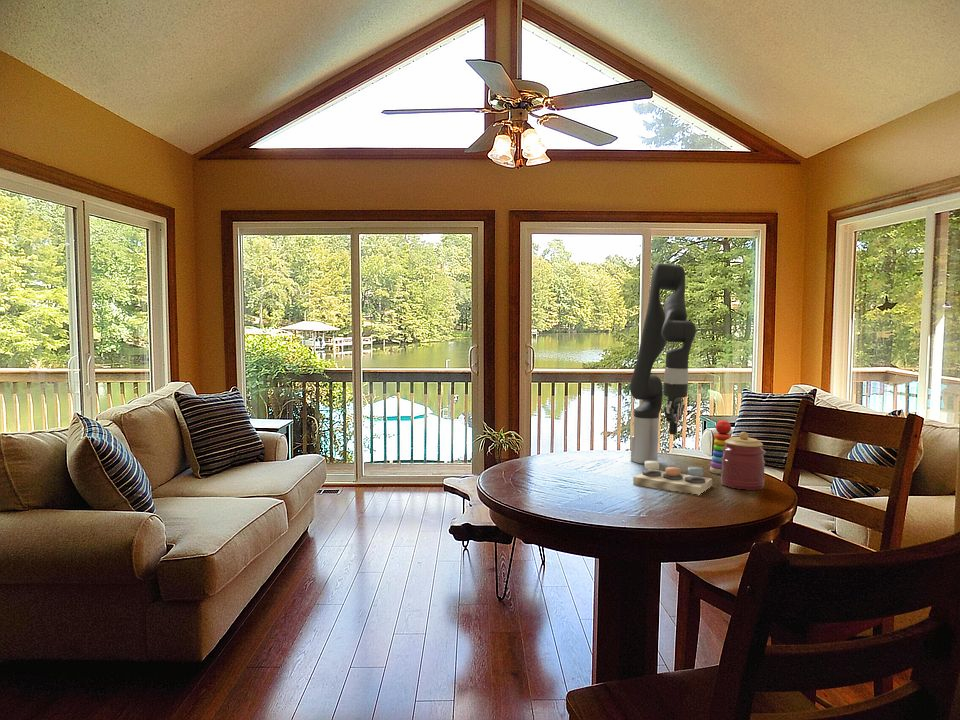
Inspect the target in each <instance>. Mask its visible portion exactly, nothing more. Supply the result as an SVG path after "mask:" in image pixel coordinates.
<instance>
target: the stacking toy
mask: <svg viewBox="0 0 960 720" xmlns="http://www.w3.org/2000/svg"><path fill="white" fill-rule="evenodd" d="M731 429H732V424H731V423H730V422H729V421H727V420H725V419H721V420H718V421H717V423H716V424H715V430H716V431H717V433H716V434H715V439H714V441H713V442H714V443H713V444H714V445H713V451H712V456H711V461H710V463H709V464H710V467H709V471H710V472H711V473H712V474H716V475H721V473H722V459H721V458H722V457H723V450H722V447H723V446H725V445H726V443H725V440H727V439H729V438H730V437H732V436H731V435H730V434H729V433H730V432H731Z"/></svg>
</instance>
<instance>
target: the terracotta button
mask: <svg viewBox="0 0 960 720" xmlns="http://www.w3.org/2000/svg"><path fill="white" fill-rule="evenodd" d="M665 472H666V473H665V474H666V475H669V476H680V474H682V473H681V468H680V467H677V466H665Z"/></svg>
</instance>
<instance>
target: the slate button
mask: <svg viewBox="0 0 960 720" xmlns="http://www.w3.org/2000/svg"><path fill="white" fill-rule="evenodd" d="M686 473H687V474H686V475H691V476H698V477H704V468H703V467H699V466H687V472H686Z"/></svg>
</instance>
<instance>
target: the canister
mask: <svg viewBox="0 0 960 720" xmlns="http://www.w3.org/2000/svg"><path fill="white" fill-rule="evenodd" d="M725 443H726V445H725V446H723V447H722V450H723V457H722V458H721V459H722V473H721V474H720V481H721V485H723V486H724V485H725V486H724V487H726V486H728V487H727V488H730V487H731V489H734V488H737V489H736V490H740V489H746V490H745V491H758V490H757V489H761V490H762V488H763V489H764V485H765V464H766V461H765V460H764V455H765V454H766V450H765V449H763V445H764V444H763V443H762V442H761V441H760V440H758V439H757V438H754V437H749V434H748V432H746V431H741V432H740V433H739V436H731V437H730V438H729V439H727V440H725Z"/></svg>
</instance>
